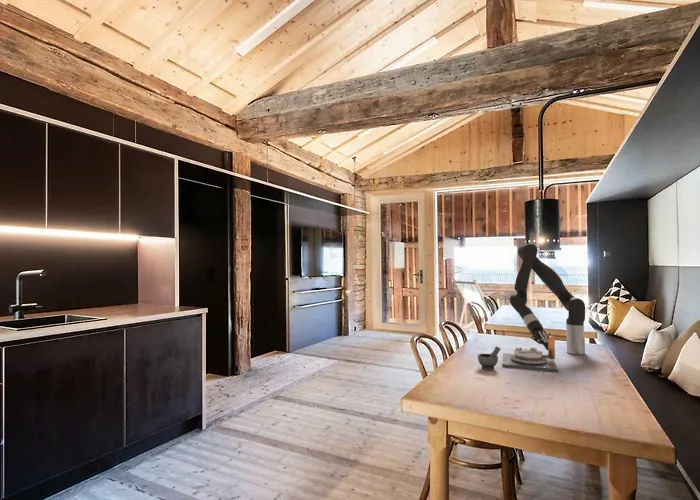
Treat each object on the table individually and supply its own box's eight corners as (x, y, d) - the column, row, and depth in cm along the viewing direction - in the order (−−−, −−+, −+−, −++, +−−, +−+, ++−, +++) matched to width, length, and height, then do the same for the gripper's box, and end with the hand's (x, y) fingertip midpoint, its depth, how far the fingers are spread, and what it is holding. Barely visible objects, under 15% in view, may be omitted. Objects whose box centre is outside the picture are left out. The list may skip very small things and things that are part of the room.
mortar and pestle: (478, 370, 198) (478, 347, 198) (477, 366, 207) (477, 343, 207) (501, 372, 195) (501, 348, 195) (500, 367, 204) (499, 344, 204)
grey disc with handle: (518, 360, 206) (518, 337, 206) (511, 354, 220) (511, 333, 220) (559, 361, 203) (559, 338, 204) (549, 355, 217) (549, 333, 218)
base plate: (553, 359, 219) (552, 354, 219) (557, 372, 195) (557, 366, 195) (503, 355, 229) (503, 350, 229) (502, 366, 205) (502, 361, 205)
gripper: (526, 320, 220) (543, 346, 208) (545, 319, 224) (563, 344, 212) (519, 328, 225) (536, 354, 213) (538, 326, 229) (555, 352, 217)
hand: (549, 349), depth 213 cm, fingers closed
